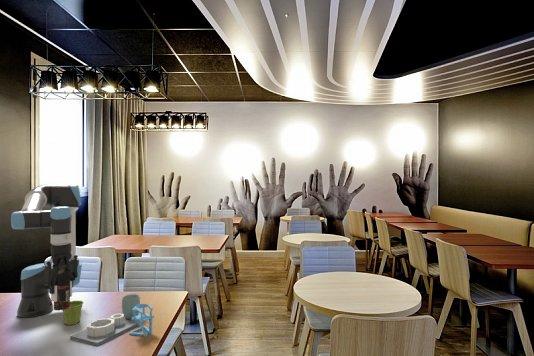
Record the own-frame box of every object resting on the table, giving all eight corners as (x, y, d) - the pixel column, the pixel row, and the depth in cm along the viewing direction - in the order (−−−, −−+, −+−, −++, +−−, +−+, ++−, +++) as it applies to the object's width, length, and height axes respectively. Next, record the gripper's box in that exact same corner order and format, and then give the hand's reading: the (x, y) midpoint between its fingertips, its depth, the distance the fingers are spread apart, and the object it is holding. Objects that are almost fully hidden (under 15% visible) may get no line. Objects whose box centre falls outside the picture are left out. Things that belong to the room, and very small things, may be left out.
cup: (133, 321, 164) (133, 299, 164) (118, 320, 165) (118, 299, 165) (143, 315, 171) (142, 294, 171) (128, 314, 173) (128, 293, 173)
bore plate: (70, 338, 146) (70, 327, 146) (113, 319, 166) (113, 309, 166) (97, 345, 140) (97, 334, 140) (139, 325, 160) (139, 314, 160)
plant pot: (59, 328, 157) (59, 308, 157) (61, 321, 166) (60, 302, 166) (83, 324, 162) (83, 305, 162) (83, 317, 170) (83, 299, 170)
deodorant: (58, 305, 152) (57, 270, 152) (72, 304, 152) (72, 270, 152) (50, 310, 146) (50, 274, 146) (65, 310, 146) (65, 273, 146)
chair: (141, 339, 145) (141, 309, 145) (128, 334, 150) (128, 306, 150) (156, 332, 152) (156, 304, 152) (143, 328, 156) (143, 300, 156)
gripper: (44, 248, 139) (45, 307, 139) (87, 240, 156) (87, 292, 156) (32, 247, 142) (33, 304, 142) (75, 239, 159) (76, 290, 159)
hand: (61, 298), depth 149 cm, fingers closed on deodorant, 6 cm apart
